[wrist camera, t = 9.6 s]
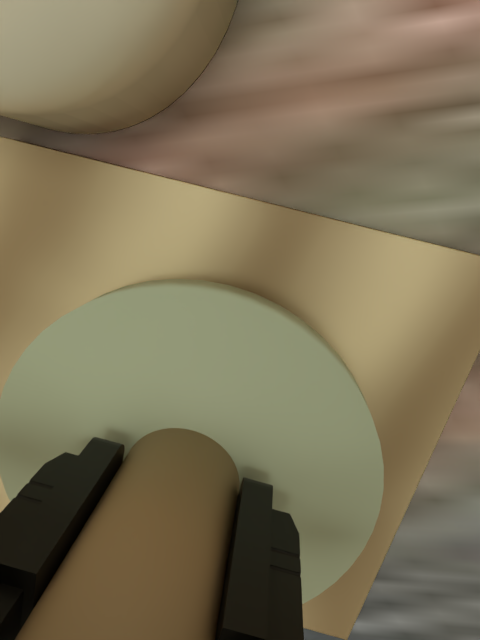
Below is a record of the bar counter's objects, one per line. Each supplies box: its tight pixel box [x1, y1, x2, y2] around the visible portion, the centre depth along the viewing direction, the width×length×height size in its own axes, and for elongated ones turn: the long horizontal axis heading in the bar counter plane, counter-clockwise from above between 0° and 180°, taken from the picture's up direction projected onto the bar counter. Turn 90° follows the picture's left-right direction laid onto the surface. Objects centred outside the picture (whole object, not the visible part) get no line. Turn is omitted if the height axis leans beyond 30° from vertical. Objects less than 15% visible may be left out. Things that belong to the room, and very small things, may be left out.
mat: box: [0, 137, 480, 640], centre depth 13 cm, size 14×14×1 cm
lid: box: [0, 279, 384, 640], centre depth 8 cm, size 10×10×6 cm
